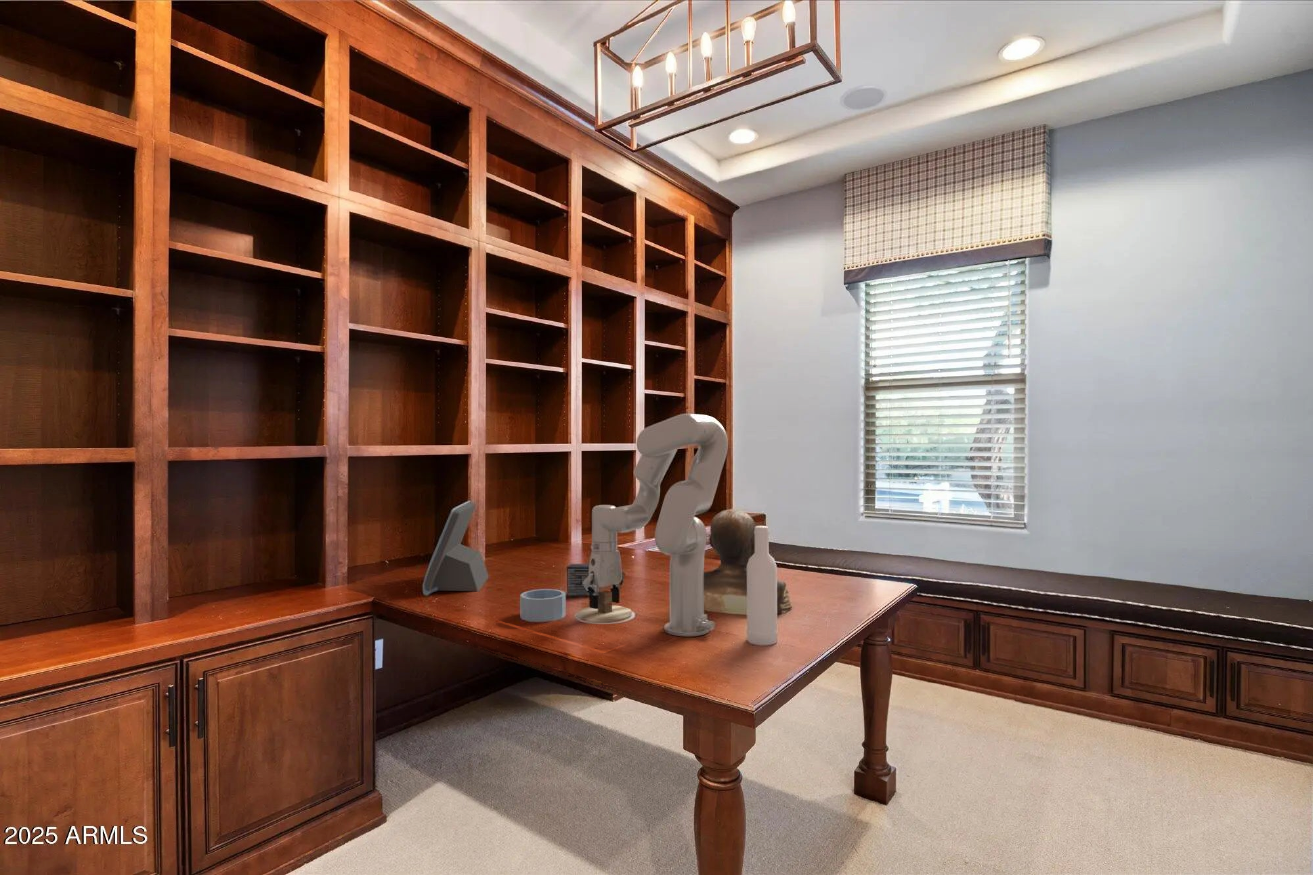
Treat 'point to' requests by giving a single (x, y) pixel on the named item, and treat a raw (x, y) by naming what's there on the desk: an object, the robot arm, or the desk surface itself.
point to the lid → (605, 610)
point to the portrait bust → (734, 565)
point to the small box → (577, 580)
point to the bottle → (762, 592)
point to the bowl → (542, 605)
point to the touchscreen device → (455, 557)
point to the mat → (605, 623)
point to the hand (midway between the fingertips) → (604, 604)
